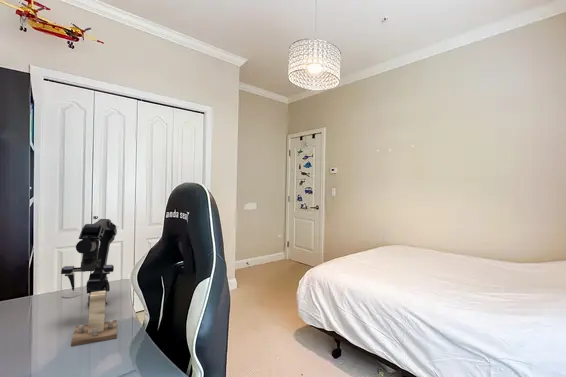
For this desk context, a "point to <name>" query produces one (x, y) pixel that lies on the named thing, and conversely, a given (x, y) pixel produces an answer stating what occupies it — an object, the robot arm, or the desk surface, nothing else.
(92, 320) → the birch block
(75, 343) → the board
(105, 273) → the robot arm
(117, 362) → the desk surface
